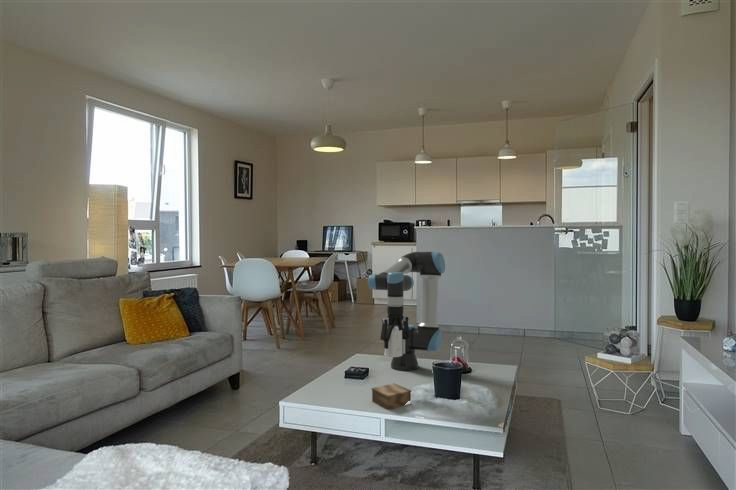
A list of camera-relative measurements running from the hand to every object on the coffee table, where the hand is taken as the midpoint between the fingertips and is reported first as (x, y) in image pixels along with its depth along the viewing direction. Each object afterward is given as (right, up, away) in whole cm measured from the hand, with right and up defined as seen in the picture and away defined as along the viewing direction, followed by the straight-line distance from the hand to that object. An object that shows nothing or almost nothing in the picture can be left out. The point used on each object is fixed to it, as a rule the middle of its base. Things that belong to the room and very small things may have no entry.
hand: (395, 354), depth 225 cm
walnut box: (-3, -18, -14) cm, 23 cm away
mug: (0, -1, 0) cm, 1 cm away
